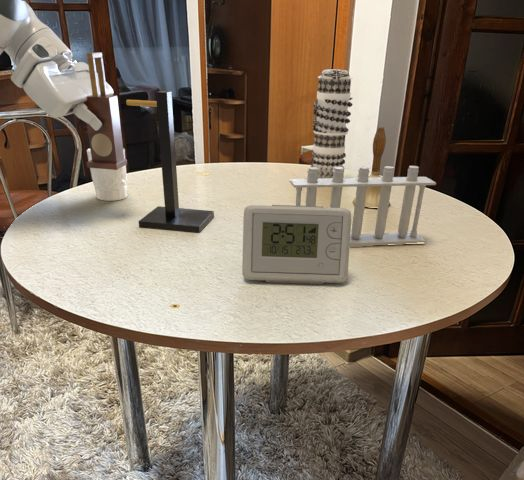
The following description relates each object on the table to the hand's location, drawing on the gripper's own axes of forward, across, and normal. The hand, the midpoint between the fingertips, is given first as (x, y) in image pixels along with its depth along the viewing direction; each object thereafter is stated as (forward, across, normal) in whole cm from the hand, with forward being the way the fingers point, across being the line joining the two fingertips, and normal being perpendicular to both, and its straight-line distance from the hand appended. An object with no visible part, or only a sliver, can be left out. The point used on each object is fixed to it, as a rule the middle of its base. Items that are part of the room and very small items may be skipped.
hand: (106, 125), depth 94 cm
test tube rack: (+46, +4, +22) cm, 51 cm away
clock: (+5, 0, -5) cm, 7 cm away
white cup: (+7, -12, -17) cm, 22 cm away
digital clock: (+39, +22, +16) cm, 48 cm away
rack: (+20, +1, -4) cm, 21 cm away
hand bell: (+48, -23, +24) cm, 58 cm away
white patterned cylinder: (+39, -39, +15) cm, 58 cm away
